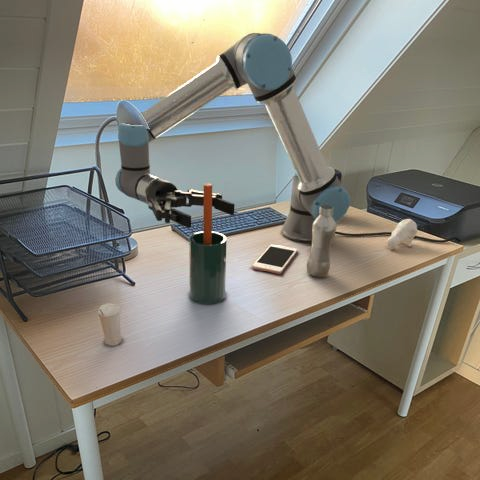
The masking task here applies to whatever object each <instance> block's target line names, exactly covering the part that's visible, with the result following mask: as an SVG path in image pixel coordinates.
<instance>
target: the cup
mask: <svg viewBox="0 0 480 480" xmlns="http://www.w3.org/2000/svg"><path fill="white" fill-rule="evenodd" d="M188 245H189V246H188V247H189V251H188V252H189V297H190V299H191V300H192V301H193V302H195V303H197V304H201V305H214V304H215V305H216V304H218V303H221V302H222V301H223V300H224V299H225V298H226V275H227V274H226V269H227V268H226V267H227V236H226V235H224V234H223V233H220V232H218V231H212V244H210V245H207V244H203V231H198V232H195V233H192V234H190V236H189V237H188Z"/></svg>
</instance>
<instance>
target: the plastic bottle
mask: <svg viewBox="0 0 480 480" xmlns="http://www.w3.org/2000/svg"><path fill="white" fill-rule="evenodd" d="M333 211H334V207H332V206H330V205H321V206H320V211H319V214H320V215H319V216H318V217H317V218H316V219H315V221H314V222H313V225H312V242H311V248H310V253H309V257H308V260H307V262H306V271H307V273H308V274H309V275H310V276H313V277H317V278H319V277H320V278H321V277H326V276H327V275H328V274H329V271H330V269H331V249H332V244H333V241H334V237H335V235H336V234H335V231H336V232H337V222H335V221H334V219H333V217H332V215H333V214H334V213H333Z"/></svg>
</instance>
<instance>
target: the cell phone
mask: <svg viewBox="0 0 480 480" xmlns="http://www.w3.org/2000/svg"><path fill="white" fill-rule="evenodd" d="M297 253H298V248H295V247H290V246H284V245H279V244H274V243H271V244H270V245H269V246H268V247H267V248H266V249H265V250H264V251H263V252H262V254H261V255H260V256H259V257H258V258H257V259H256V260H255V261H254V263H253V264H252V265H251V268H252V269H253V270H258V271H263V272H268V273H272V274H276V275H277V274H278V275H280V274H282V273H283V272H284V270H285V269H286V267H287V266H288V264H290V262H291V261H292V260H293V258H294V257H295V255H296V254H297Z"/></svg>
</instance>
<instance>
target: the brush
mask: <svg viewBox="0 0 480 480" xmlns="http://www.w3.org/2000/svg"><path fill="white" fill-rule="evenodd" d="M203 192H204V206H203V231H202V232H203V244H207V245H210V244H212V232H213V207H212V193H213V184H212V183H203Z"/></svg>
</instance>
